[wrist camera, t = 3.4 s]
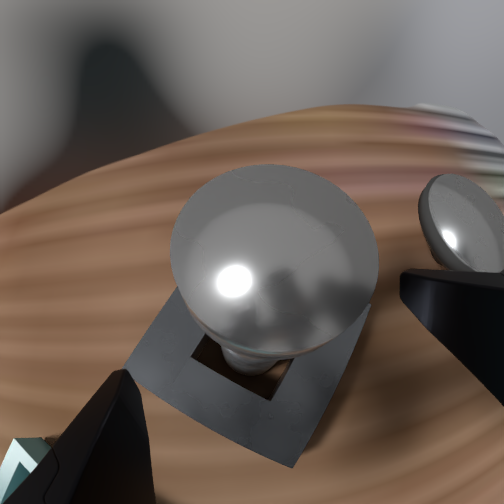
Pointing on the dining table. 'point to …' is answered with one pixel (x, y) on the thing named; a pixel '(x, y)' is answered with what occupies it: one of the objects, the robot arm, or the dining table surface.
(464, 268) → the silver round knob
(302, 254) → the pin
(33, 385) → the dining table surface
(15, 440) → the tray
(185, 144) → the dining table surface
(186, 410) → the pin collar
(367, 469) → the dining table surface
